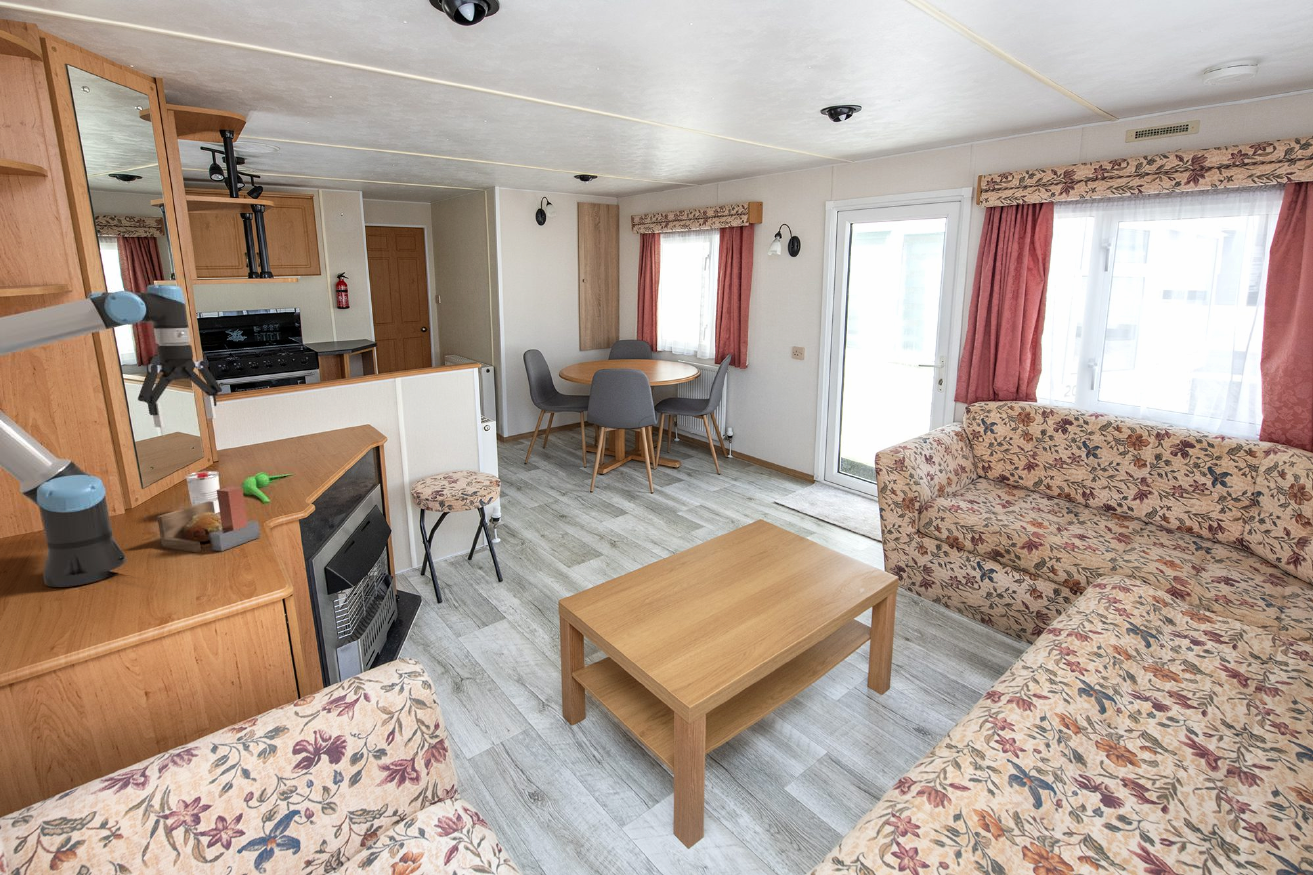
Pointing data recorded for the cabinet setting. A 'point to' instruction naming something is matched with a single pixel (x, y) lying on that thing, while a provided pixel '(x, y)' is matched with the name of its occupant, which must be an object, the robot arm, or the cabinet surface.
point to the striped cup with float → (204, 488)
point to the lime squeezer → (259, 485)
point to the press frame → (181, 527)
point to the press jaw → (233, 521)
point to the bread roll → (202, 526)
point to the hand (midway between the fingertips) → (186, 422)
